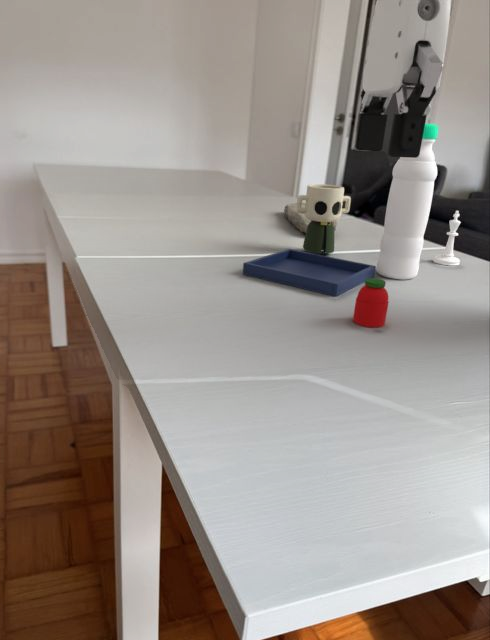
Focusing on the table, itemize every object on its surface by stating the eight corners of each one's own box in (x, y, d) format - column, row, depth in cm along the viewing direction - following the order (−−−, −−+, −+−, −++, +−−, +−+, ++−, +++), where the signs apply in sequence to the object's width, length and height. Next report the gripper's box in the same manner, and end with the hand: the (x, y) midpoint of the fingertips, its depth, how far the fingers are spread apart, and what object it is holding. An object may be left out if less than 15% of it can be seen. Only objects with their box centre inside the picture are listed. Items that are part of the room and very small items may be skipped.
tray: (374, 277, 96) (376, 266, 95) (335, 296, 84) (337, 284, 84) (287, 258, 105) (288, 248, 104) (242, 274, 94) (243, 262, 93)
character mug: (297, 256, 107) (304, 188, 102) (287, 248, 113) (293, 183, 108) (350, 257, 109) (359, 189, 104) (337, 248, 115) (345, 184, 110)
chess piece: (428, 261, 108) (438, 210, 104) (440, 258, 111) (450, 208, 107) (452, 267, 105) (464, 214, 101) (463, 263, 108) (475, 211, 104)
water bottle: (393, 282, 93) (422, 123, 83) (367, 271, 99) (391, 121, 89) (425, 278, 96) (457, 125, 86) (397, 268, 102) (424, 123, 92)
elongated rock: (312, 218, 156) (277, 218, 156) (312, 198, 154) (277, 199, 154) (345, 237, 123) (301, 238, 123) (346, 213, 121) (302, 214, 121)
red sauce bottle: (389, 321, 75) (396, 280, 73) (377, 330, 72) (385, 287, 69) (360, 314, 77) (366, 274, 75) (347, 322, 74) (354, 280, 72)
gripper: (500, -50, 47) (455, 161, 54) (411, -10, 63) (385, 149, 69) (417, -58, 46) (382, 158, 53) (348, -15, 62) (328, 147, 68)
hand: (384, 153), depth 61 cm, fingers open, 9 cm apart
